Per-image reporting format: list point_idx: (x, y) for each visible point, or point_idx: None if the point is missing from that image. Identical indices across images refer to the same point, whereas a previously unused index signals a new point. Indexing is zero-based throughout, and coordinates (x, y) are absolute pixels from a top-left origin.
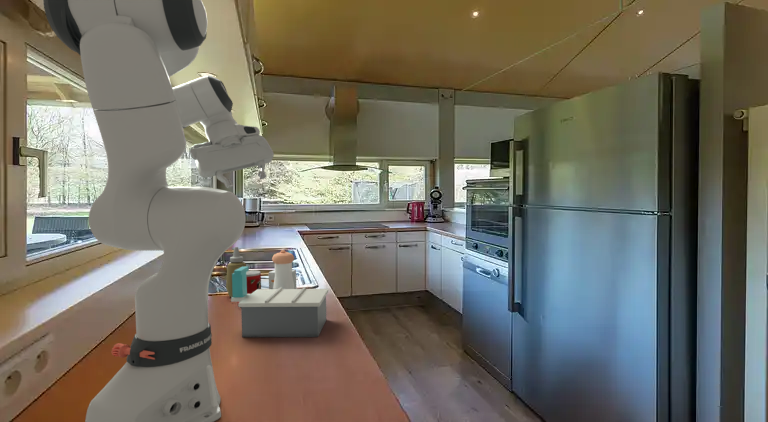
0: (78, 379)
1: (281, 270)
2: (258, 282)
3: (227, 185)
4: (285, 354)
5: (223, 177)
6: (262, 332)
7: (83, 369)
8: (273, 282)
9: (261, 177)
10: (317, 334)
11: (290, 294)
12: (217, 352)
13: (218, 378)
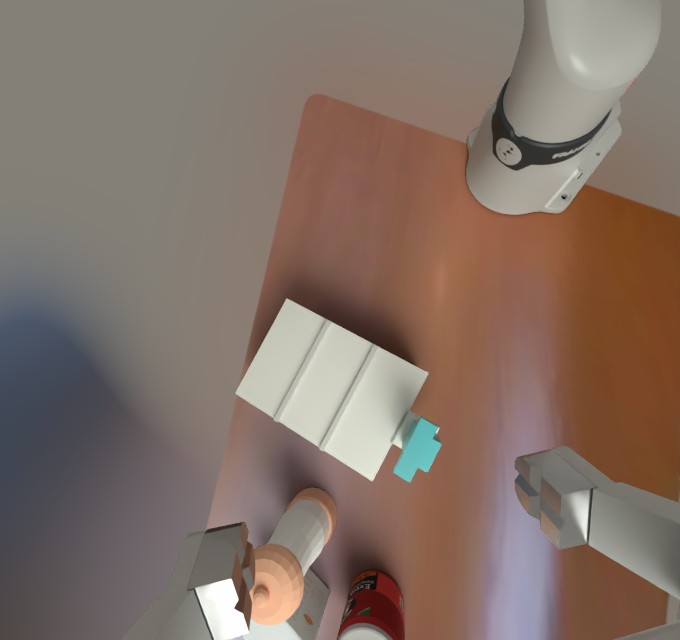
0: (669, 311)
1: (293, 540)
2: (349, 612)
3: (563, 447)
4: (369, 269)
5: (650, 501)
6: None
7: (675, 350)
8: (308, 615)
9: (245, 525)
10: None
11: (316, 388)
12: (463, 322)
13: (465, 230)
